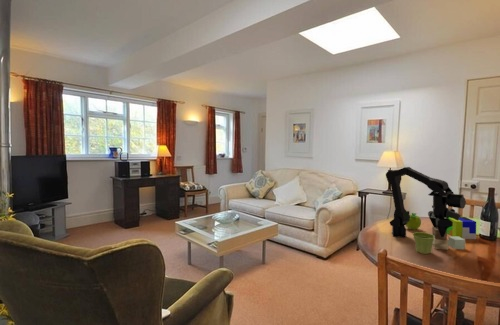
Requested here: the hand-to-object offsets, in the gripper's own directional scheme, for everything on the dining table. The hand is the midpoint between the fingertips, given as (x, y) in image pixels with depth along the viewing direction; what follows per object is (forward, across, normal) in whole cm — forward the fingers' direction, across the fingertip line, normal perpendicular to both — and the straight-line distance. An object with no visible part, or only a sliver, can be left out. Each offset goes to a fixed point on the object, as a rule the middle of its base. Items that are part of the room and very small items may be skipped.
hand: (439, 234), depth 136 cm
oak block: (+7, 0, 0) cm, 7 cm away
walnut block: (+2, 0, 0) cm, 2 cm away
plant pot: (+7, -9, +9) cm, 15 cm away
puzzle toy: (+7, +22, -16) cm, 28 cm away
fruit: (+7, +29, +7) cm, 31 cm away
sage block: (+7, +2, -8) cm, 11 cm away
